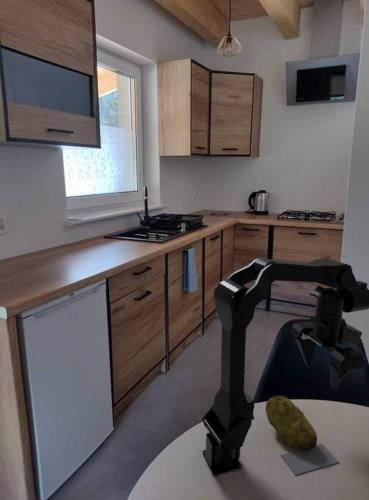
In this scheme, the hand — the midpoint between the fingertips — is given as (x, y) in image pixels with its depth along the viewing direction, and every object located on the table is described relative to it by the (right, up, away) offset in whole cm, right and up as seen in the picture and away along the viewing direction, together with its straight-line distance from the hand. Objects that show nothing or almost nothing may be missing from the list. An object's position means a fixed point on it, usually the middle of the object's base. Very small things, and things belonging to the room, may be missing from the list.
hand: (320, 376), depth 83 cm
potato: (-8, -14, 0) cm, 16 cm away
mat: (-5, -16, -6) cm, 18 cm away
